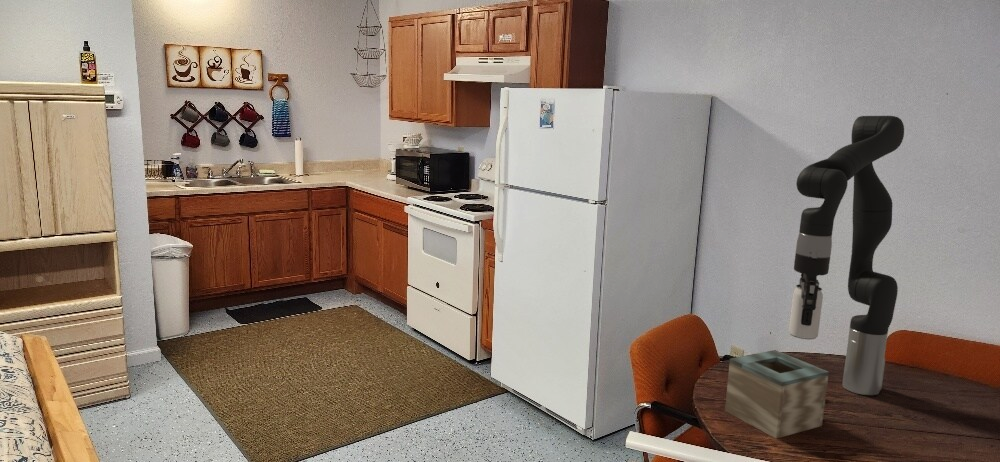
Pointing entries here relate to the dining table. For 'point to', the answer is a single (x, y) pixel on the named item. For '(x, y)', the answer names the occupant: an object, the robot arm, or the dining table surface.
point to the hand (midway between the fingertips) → (804, 320)
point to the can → (796, 314)
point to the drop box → (776, 393)
